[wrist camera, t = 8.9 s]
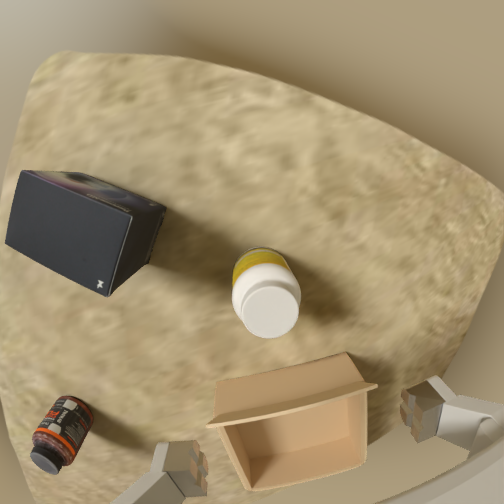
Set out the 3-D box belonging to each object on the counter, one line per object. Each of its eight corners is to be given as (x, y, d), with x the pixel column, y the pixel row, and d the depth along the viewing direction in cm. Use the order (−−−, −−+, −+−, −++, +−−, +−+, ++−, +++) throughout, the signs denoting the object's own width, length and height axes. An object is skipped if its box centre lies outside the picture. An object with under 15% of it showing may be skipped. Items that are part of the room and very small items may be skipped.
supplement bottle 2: (221, 265, 30) (215, 303, 21) (268, 234, 30) (284, 259, 20) (252, 308, 31) (259, 359, 22) (297, 279, 31) (323, 320, 21)
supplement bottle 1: (66, 386, 33) (29, 440, 22) (101, 414, 34) (72, 473, 23) (52, 405, 33) (18, 455, 22) (84, 431, 34) (58, 484, 23)
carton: (353, 435, 36) (366, 464, 30) (245, 460, 36) (247, 492, 30) (348, 350, 33) (366, 379, 27) (214, 382, 33) (211, 416, 27)
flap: (378, 387, 21) (377, 384, 21) (206, 428, 21) (205, 424, 21) (359, 384, 27) (358, 381, 27) (220, 417, 27) (219, 414, 27)
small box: (170, 203, 29) (136, 213, 18) (148, 265, 30) (110, 303, 20) (80, 168, 27) (19, 165, 17) (63, 227, 28) (2, 247, 18)
